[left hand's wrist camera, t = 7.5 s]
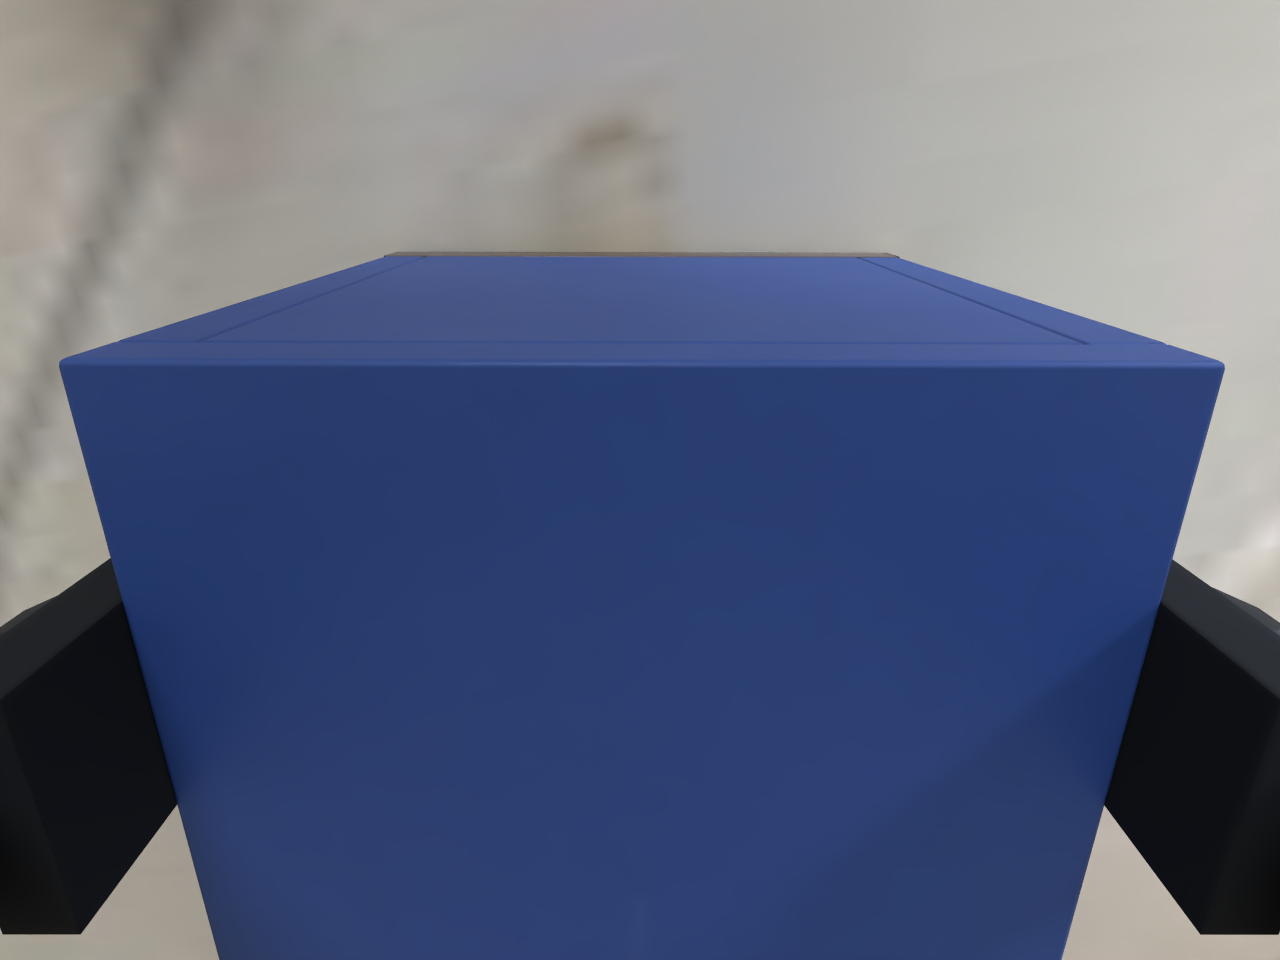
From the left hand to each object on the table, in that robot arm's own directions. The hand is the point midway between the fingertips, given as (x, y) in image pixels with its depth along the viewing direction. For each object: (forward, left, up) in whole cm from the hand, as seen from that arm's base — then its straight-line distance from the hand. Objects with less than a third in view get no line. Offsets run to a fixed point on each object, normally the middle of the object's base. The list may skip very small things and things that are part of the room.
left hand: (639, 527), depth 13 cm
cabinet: (+7, +1, -6) cm, 9 cm away
